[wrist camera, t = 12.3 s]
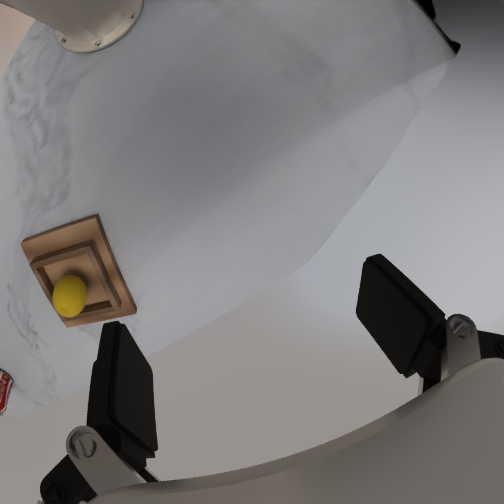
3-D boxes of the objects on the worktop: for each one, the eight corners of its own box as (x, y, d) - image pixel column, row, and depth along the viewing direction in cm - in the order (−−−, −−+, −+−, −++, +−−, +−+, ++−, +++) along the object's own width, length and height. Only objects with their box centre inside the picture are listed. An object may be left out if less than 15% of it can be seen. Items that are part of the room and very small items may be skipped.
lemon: (86, 298, 39) (75, 332, 33) (58, 284, 37) (43, 316, 30) (96, 275, 38) (85, 308, 31) (66, 259, 35) (50, 290, 28)
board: (24, 239, 33) (15, 250, 30) (97, 213, 35) (91, 223, 32) (68, 322, 42) (64, 335, 39) (136, 307, 44) (135, 321, 42)
